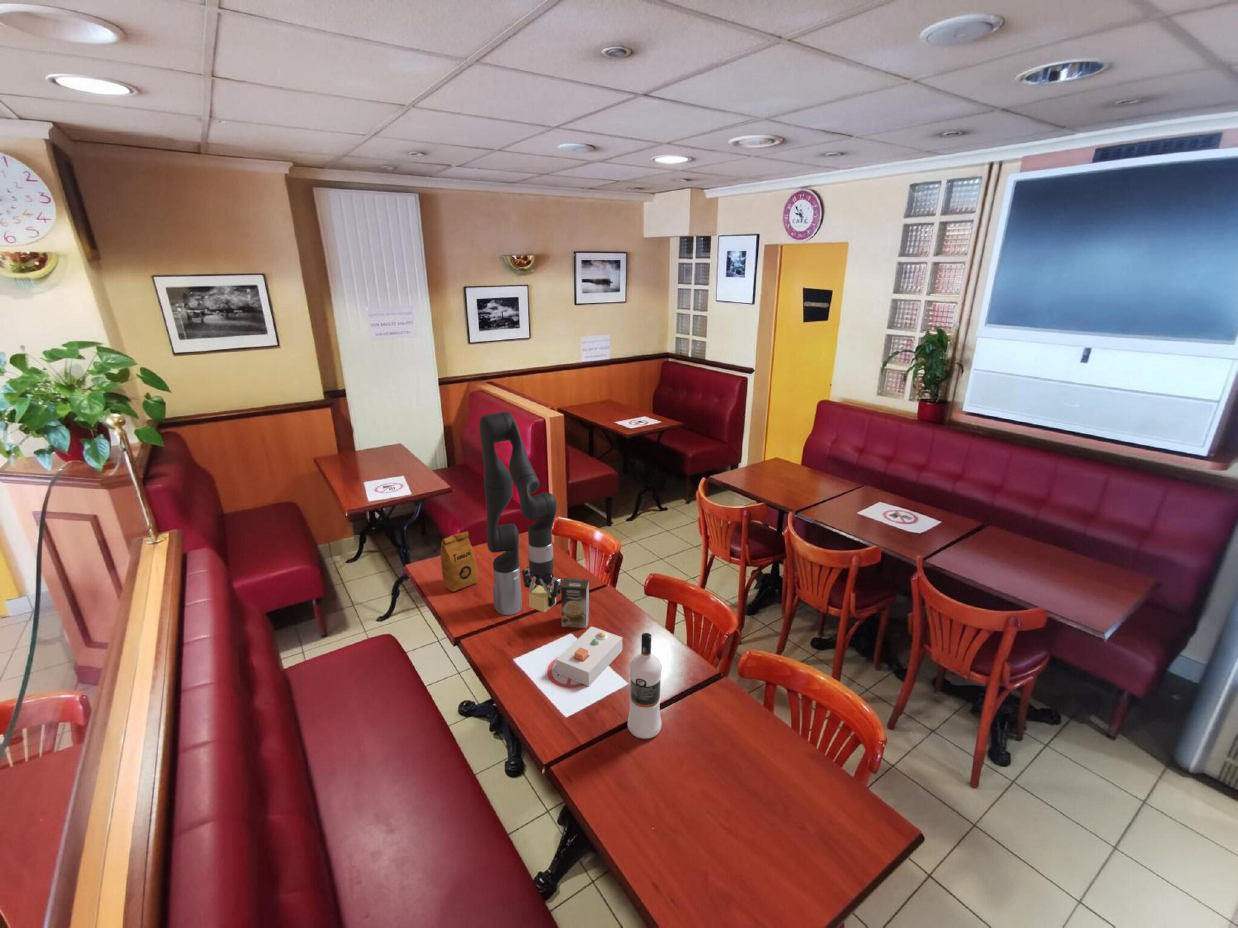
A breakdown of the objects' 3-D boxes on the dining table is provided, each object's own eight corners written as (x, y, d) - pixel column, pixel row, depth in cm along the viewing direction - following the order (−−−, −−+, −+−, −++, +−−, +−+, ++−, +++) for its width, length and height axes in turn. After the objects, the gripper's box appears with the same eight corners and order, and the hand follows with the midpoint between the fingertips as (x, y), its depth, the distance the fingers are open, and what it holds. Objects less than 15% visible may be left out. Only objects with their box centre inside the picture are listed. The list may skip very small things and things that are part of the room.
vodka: (666, 722, 162) (670, 630, 152) (651, 745, 154) (654, 650, 145) (637, 710, 166) (638, 620, 156) (621, 732, 159) (621, 638, 149)
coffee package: (481, 584, 230) (477, 534, 223) (451, 595, 223) (446, 543, 216) (470, 574, 238) (465, 525, 230) (440, 584, 230) (435, 534, 223)
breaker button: (574, 665, 182) (574, 652, 180) (580, 660, 184) (579, 647, 182) (582, 669, 180) (582, 655, 178) (588, 663, 183) (588, 650, 181)
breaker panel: (556, 672, 181) (555, 655, 179) (591, 638, 198) (591, 622, 196) (589, 686, 176) (588, 668, 174) (622, 650, 192) (622, 633, 190)
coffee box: (560, 627, 204) (559, 586, 199) (564, 616, 210) (563, 577, 205) (587, 628, 203) (586, 588, 198) (589, 618, 209) (589, 578, 204)
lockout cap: (529, 606, 184) (528, 593, 182) (541, 597, 189) (540, 584, 187) (544, 612, 181) (544, 598, 179) (556, 603, 186) (555, 589, 184)
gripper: (514, 554, 179) (517, 602, 185) (552, 566, 172) (554, 615, 178) (529, 545, 185) (532, 591, 191) (567, 556, 178) (568, 603, 184)
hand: (542, 602), depth 184 cm, fingers closed on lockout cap, 6 cm apart
